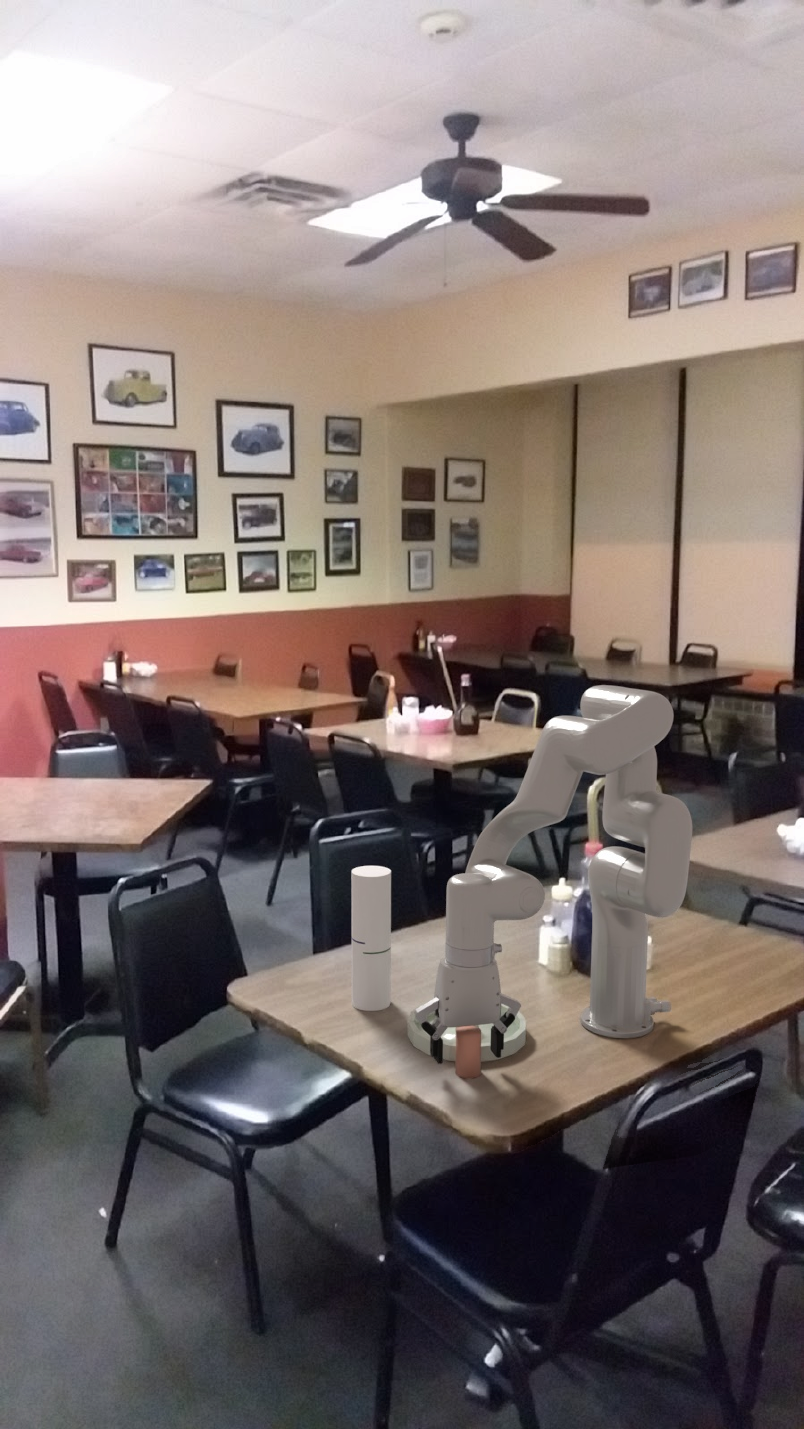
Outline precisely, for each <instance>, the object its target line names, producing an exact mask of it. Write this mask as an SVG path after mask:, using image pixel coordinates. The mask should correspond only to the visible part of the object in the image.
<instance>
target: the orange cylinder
mask: <svg viewBox="0 0 804 1429" xmlns="http://www.w3.org/2000/svg"><path fill="white" fill-rule="evenodd" d="M454 1062H455V1069H454V1070H455V1075H456V1076H458V1077H460V1078H462V1079H475V1078H478V1077H479V1076H480V1075H481V1069H482V1067H481V1065H482V1064H481V1029H480V1028H478V1027H476V1026H463V1027H458V1028H457V1029H456V1061H454Z"/></svg>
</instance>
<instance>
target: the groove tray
mask: <svg viewBox="0 0 804 1429" xmlns="http://www.w3.org/2000/svg"><path fill="white" fill-rule="evenodd" d="M426 1003H427V1002H424V1003H421V1004H420V1005H418V1006H417V1007H416V1008H414V1009H413V1010H412V1011H410V1013H409V1017H408V1019H407V1038H408V1039H409V1041H410V1043H411V1045H412V1046H413V1047H415V1048H416V1049H417V1050H420V1051H421V1052H423V1053H424V1054H425V1055H427V1056H430V1057H432V1056H431V1054H430V1035H429V1034H428V1033H427V1032H425V1031H424V1030H423V1028H422V1027H421V1025H420V1023H419V1022H418V1020H417V1018H416V1016H415V1014H414V1011H415V1010H416V1009H417V1008H419V1007H421V1006H422V1005H424V1004H426ZM508 1008H509V1007H508V1006H506V1005H504V1004H501V1017H502V1016H503V1015H504V1014H505V1012H507V1011H508ZM501 1017H500V1018H501ZM435 1019H436V1016H435V1015H434V1011H433V1012H431V1013H430V1014H428V1015H427V1016H426V1020H427V1021H428V1022H429V1023H430V1024H432V1022H433V1021H434V1020H435ZM473 1026H476V1027H478V1028H480V1029H481V1062H490V1061H491V1062H492V1061H498V1060H501V1059H503V1058H506V1057H509V1056H511V1055H514V1054H516V1053H517V1052H519V1051H520V1050H521V1048H523V1047H524V1046H525V1045H526V1036H527V1035H526V1034H527V1018H525V1016H524V1015H523V1014H522V1013H521V1012H520V1010H519V1011H518V1013H517V1015H516V1016H515V1020H514V1021H513V1023H512V1024H511V1025H510V1026H509V1027H508V1028H507V1032H506V1033H504V1049H503V1050H501V1058H497V1057H496V1056H495V1055H494V1054H493V1052H492V1051H491V1049H490V1046H491V1028H492V1026H494V1024H493V1023H491V1024H484V1025H473ZM457 1028H458V1027H448V1028H447V1029H446V1030H445V1032H444V1033H443V1034H442V1035H441V1038H442V1040H443V1060H445V1061H449V1062H455V1061H456V1029H457Z"/></svg>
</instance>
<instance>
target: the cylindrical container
mask: <svg viewBox="0 0 804 1429" xmlns="http://www.w3.org/2000/svg"><path fill="white" fill-rule="evenodd" d="M350 876H351V879H350V880H351V1005H352V1007H353V1008H355V1009H357V1010H360V1011H365V1012H376V1011H381V1010H385V1009H387V1008H388V1007H390V1006H391V996H392V995H391V992H392V991H391V990H392V988H391V987H392V986H391V983H392V982H391V974H392V973H391V971H392V970H391V969H392V968H391V967H392V966H391V965H392V964H391V963H392V962H391V961H392V960H391V959H392V958H391V957H392V954H391V953H392V948H391V947H392V946H391V944H392V943H391V942H392V933H391V931H392V929H391V928H392V870H391V869H390V868H388V867H387V866H386V867H385V866H382V865H363V866H357V867H355V868H352V869H351V875H350Z"/></svg>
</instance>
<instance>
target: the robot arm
mask: <svg viewBox="0 0 804 1429" xmlns="http://www.w3.org/2000/svg"><path fill="white" fill-rule="evenodd" d="M579 704H580V705H579V707H580V713H581V716H574V715H559V716H554V717H552V718H551V719H549V720H548V721H547V722H546V724H545V725H544V727H543V728H542V730H541V733H540V736H539V738H538V741H537V744H536V745H535V748H534V751H533V753H532V755H531V759H530V762H529V764H528V767H527V769H526V772H525V774H524V777H523V779H522V782H521V785H520V787H519V789H518V792H517V795H516V797H515V798H514V800H513V801H512V802H511V803H510V804H508V805H506V807H504V808H503V809H502V810H501V811H499V813H498V814H497V815H496V816H495V817H494V818H493V819H492V820H491V821H490V822H489V823H488V824H487V825H486V826H485V827H484V829H482V832H481V833H480V834H479V836H478V838H477V840H476V842H475V844H474V847H473V849H472V852H471V854H470V857H469V860H468V863H467V866H466V868H465V873H463V872H462V873H459V874H458V873H457V874H455V875H452V876H451V877H450V878H449V879H448V881H447V883H446V884H447V885H446V896H445V897H446V899H445V901H446V904H445V905H446V906H445V907H446V908H445V945H444V946H445V948H444V949H445V950H444V952H445V954H444V958H441V959H440V960H439V962H438V967H437V973H436V978H435V984H434V994H433V999H430V1000H429V1001H427V1002H425V1003H426V1004H424V1003H423V1004H424V1005H422V1006H421V1007H419V1006H418V1007H419V1008H417V1007H416V1008H417V1009H416V1008H415V1009H416V1010H415V1011H414V1014H415V1016H416V1018H417V1020H418V1022H419V1023H420V1025H421V1027H422V1028H423V1030H424V1031H425V1032H427V1033H428V1034H429V1035H430V1054H431V1056H430V1057H431V1058H433V1059H434V1060H435V1062H436V1064H438V1065H442V1064H443V1060H444V1059H443V1040H442V1038H441V1035H442V1034H443V1033H444V1032H445V1030H446V1029H447V1028H448V1027H463V1026H473V1025H484V1024H491V1023H493V1024H494V1026H492V1028H491V1046H490V1049H491V1051H492V1052H493V1054H494V1055H495V1056H496V1057H497V1058H501V1050H503V1049H504V1033H506V1032H507V1028H508V1027H509V1026H510V1025H511V1024H512V1023H513V1021H514V1020H515V1016H516V1015H517V1013H518V1011H519V1012H520V1010H521V1007H522V1004H521V1003H520V1001H518V1000H517V999H515V998H512V997H510V996H508V995H506V994H503V993H502V992H501V990H502V988H501V981H500V980H501V978H500V972H499V966H498V962H497V960H496V958H495V956H496V954H498V953H502V951H503V947H502V943H496V942H495V939H494V938H495V923H496V922H497V921H521V920H526V919H529V918H531V917H533V916H535V915H536V914H537V913H538V912H540V910H541V909H542V907H543V905H544V903H545V899H546V898H545V897H546V896H545V895H546V893H545V889H544V886H543V884H542V883H541V881H539V879H537V877H535V876H534V875H532V874H530V873H528V872H527V871H522V870H520V869H517V868H516V867H513V866H510V865H507V862H508V859H509V857H510V854H511V853H512V850H513V849H514V847H515V846H516V845H517V843H518V842H520V840H521V839H523V838H524V837H525V836H527V835H528V834H530V833H532V832H534V831H535V830H539V829H542V828H544V827H548V826H550V825H554V824H558V823H561V821H564V820H565V818H566V817H567V815H568V812H569V810H570V806H571V804H572V802H573V799H574V797H575V794H576V790H577V788H578V786H579V783H580V781H581V778H582V775H583V773H584V772H585V773H589V774H593V775H598V776H603V775H605V780H604V792H603V802H602V803H603V804H602V816H601V818H602V825H603V828H604V831H605V832H606V833H607V834H608V835H609V836H611V837H612V838H614V839H617V840H620V841H622V842H626V843H628V844H631V845H635V846H638V847H642V848H644V850H645V851H644V852H641V851H637V850H634V849H631V848H628V847H623V846H615V845H614V846H607V847H604V848H601V849H600V850H599V851H597V852H596V853H595V854H594V855H593V856H592V858H591V860H590V862H589V865H588V871H587V881H588V882H587V883H588V889H589V895H590V900H591V910H592V911H591V913H592V927H591V928H592V929H591V930H592V933H591V954H590V955H591V957H590V958H591V961H590V989H589V1006H587V1007H585V1008H584V1009H583V1010H582V1011H581V1013H580V1024H581V1025H582V1026H583V1027H584V1028H585V1029H586V1030H588V1031H589V1032H591V1033H594V1034H595V1035H596V1034H597V1035H600V1036H603V1037H608V1038H615V1039H633V1038H640V1037H643V1036H645V1035H647V1034H649V1033H651V1032H652V1030H653V1029H654V1025H655V1024H654V1023H655V1022H654V1018H653V1016H654V1015H656V1014H655V1013H668V1012H671V1009H672V1005H671V1002H670V1001H669V1000H668V999H667V1000H658V999H657V997H655V996H651V997H648V998H647V997H646V995H647V994H646V992H647V991H646V989H647V968H648V967H647V964H648V943H649V926H648V925H649V924H648V920H647V917H646V915H649V916H651V917H655V918H662V919H663V918H667V917H670V916H672V915H674V914H675V913H676V912H678V910H679V909H680V907H681V906H682V904H683V903H684V899H685V896H686V892H687V887H688V880H689V879H688V878H689V871H690V870H689V869H690V861H691V850H692V839H693V821H692V815H691V813H690V810H689V809H688V807H687V805H686V804H685V802H684V801H682V800H681V799H679V798H678V797H676V796H674V795H670V794H665V793H662V792H658V790H657V775H658V756H657V752H656V748H655V746H656V745H658V744H659V743H660V742H661V741H662V740H664V739H665V738H666V737H667V735H668V734H669V732H670V730H671V728H672V726H673V722H674V716H675V715H674V710H673V706H672V704H671V703H670V700H669V699H668V698H667V697H665V696H664V695H662V694H661V693H659V692H656V691H654V690H653V691H652V690H646V689H639V688H630V687H625V686H618V685H610V684H609V685H606V684H601V685H593V686H591V687H589V688H588V689H586V690H585V691H584V693H583V694H582V695H581V699H580V703H579ZM501 1004H504V1005H506V1006H508V1007H509V1008H508V1011H507V1012H505V1014H504V1015H503V1016H502V1017H501ZM433 1011H434V1015H435V1016H436V1019H435V1020H434V1021H433V1022H432V1024H430V1023H429V1022H428V1021H427V1020H426V1016H427V1015H428V1014H430V1013H431V1012H433ZM500 1017H501V1018H500ZM501 1059H502V1058H501Z"/></svg>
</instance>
